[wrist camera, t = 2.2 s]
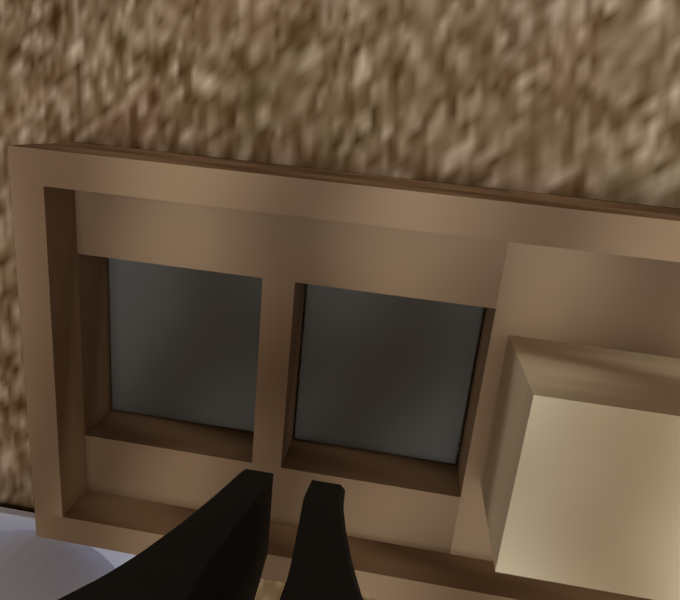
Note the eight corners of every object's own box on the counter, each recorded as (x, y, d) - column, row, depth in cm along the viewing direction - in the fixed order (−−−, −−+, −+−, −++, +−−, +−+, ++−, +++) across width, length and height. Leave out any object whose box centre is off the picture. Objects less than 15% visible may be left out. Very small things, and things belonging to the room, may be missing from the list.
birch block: (479, 480, 18) (495, 571, 15) (508, 335, 17) (534, 394, 13) (641, 506, 18) (701, 608, 14) (686, 359, 16) (765, 428, 13)
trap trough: (92, 477, 23) (36, 536, 20) (79, 142, 19) (7, 145, 16) (843, 607, 20) (927, 702, 17) (1008, 245, 16) (1158, 275, 13)
